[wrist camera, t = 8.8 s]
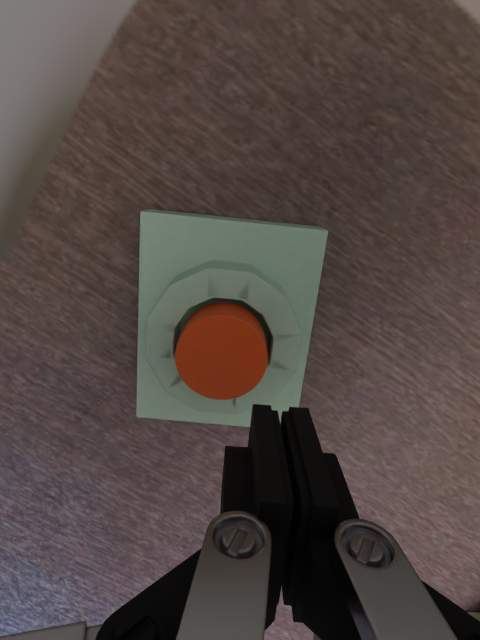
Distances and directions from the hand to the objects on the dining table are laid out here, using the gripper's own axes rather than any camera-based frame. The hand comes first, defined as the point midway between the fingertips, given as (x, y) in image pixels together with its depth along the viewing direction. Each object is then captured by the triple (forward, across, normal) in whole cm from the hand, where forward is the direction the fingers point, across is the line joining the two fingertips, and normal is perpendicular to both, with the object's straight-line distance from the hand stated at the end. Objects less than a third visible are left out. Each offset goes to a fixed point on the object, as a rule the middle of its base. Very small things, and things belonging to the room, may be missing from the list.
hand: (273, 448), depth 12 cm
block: (+9, +2, -1) cm, 9 cm away
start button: (+6, +2, -1) cm, 6 cm away
